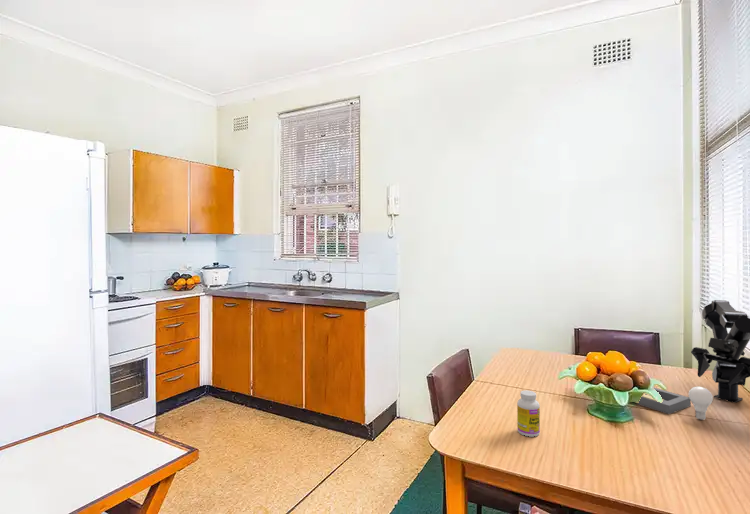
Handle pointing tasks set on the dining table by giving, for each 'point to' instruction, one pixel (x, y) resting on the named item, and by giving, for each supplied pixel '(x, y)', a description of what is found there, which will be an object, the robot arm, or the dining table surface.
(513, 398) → the dining table surface
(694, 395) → the lightbulb
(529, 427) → the supplement bottle
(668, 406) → the socket block
